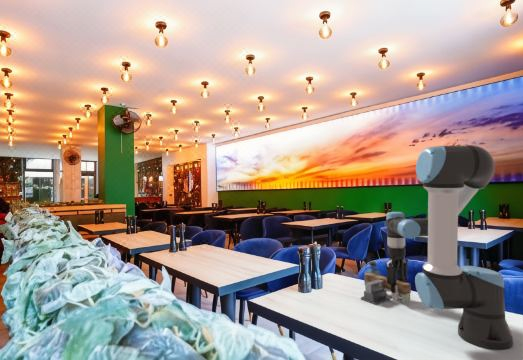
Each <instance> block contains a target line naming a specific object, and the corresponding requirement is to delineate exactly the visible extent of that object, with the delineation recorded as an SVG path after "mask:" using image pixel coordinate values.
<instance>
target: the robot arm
mask: <svg viewBox="0 0 523 360" xmlns="http://www.w3.org/2000/svg"><path fill="white" fill-rule="evenodd" d="M495 163H496V162H495V160H494V158H493V156H492V154H491V153H490V152H489V151H488V150H487V149H486V148H483V147H482V146H478V145H473V144H469V145H468V144H467V145H437V146H429V147H426V148H424V149H423V150H422V151H421V152H420V154H419V155H418V156H417V160H416V164H415V175H416V178H417V180H418V181H419V182H421V183H422V186H423V188H424V189H425V190H426V191H427V193H428V197H427V198H428V199H427V200H428V201H427V207H428V208H427V217H426V218H425V217H424V218H406V217H405V213H404V212H403V211H402V212H401V211H388V212H387V213H386V218H385V222H386V236H387V237H386V238H387V239H386V241H387V242H386V243H387V249H386V250H387V256H389V261H385V263H384V265H385V270H386V277H387V284H390V285H391V290H390V291H391V292H390V293H391V300H394V301H399V298H401V299H402V294H401V293H398V286H397V285H396V281H397V280H398V281H402V282H406V283H408V282H407V281H408V262H409V259H408V258H405V256H406V254H407V253H406V251H407V250H406V239H411V240H413V239H416V238H417V237H418V238H420V237H424V238H425V237H427V261H426V262H425V263H424V264H423V265H422V272H417V274H416V275H415V278H414V283H415V289H416V291H417V295H418V297H419V299H420V300H421V302H422V303H423V304H424V306H425V307H427V308H429V309H430V310H431V309H432V310H442V311H443V310H457V309H458V310H459V309H460V310H461V309H462V314H461V316H460V319H459V321H458V325H457V333H458V334H457V335H458V336H459V337H460V338H461V339H463V340H464V341H466V342H467V343H469V344H472V345H474V346H478V347H482V348H486V349H491V350H506V349H510V348H512V347H513V346H514V336H513V334H512V332H511V329H510V327H509V324H508V322H507V320H506V306H505V305H506V304H505V299H506V298H505V288H506V286H505V282H504V277H503V275H502V274H501V273H499V272H498V271H495V270H492V269H489V268H485V267H480V266H473V265H462V266H461V267H460V266H459V265H458V241H459V240H458V236H459V235H458V233H459V232H458V231H459V230H458V229H459V227H458V226H459V223H458V222H459V215H460V214H461V213H462V212H463V210H464V209H465V207H466V206H467V205H468V203H469V202H470V201H471V199H473V197H474V196H475V195H476V194H477V192H478V191H479V190H482V189H485V188H486V187H487V185H488V184H489V183H490V182H491V180H492V179H493V176H494V174H495V172H496V171H495V169H496V165H495ZM397 278H398V279H397Z"/></svg>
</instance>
